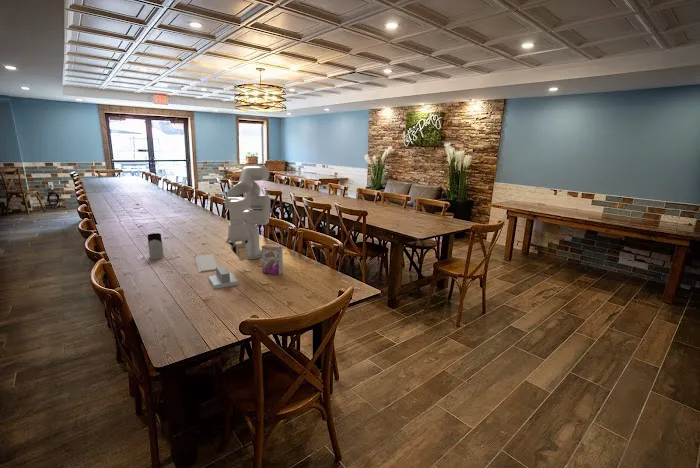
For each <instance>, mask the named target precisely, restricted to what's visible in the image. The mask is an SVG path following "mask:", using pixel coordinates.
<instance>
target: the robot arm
mask: <svg viewBox="0 0 700 468" xmlns="http://www.w3.org/2000/svg"><path fill="white" fill-rule="evenodd" d="M270 173H271V172H270V169H269V168H268V167H265V166H253V165H252V166H244V167H243V168H242V169H241V172H240V175H239V179H238V182H237V183H236V184H234V185H233V186H232V187H231V188H229V190H228V191H226V195H225V198H224V207H225V209H227V210H229V211H228V212H229V222H230V223H229V224H228V228H227V229H228V231H227V234H228V235H227V236H228V237H227V238H226V240H225V243H226V244H228V245H229V246H230V247H231V246H233V251H232V252H233V253H234V254H235V255H236V247H235V243H236V242H238V241H240V242H241V243H242V244H243V245H244V246H245V247H246V248H247V249H248V259H247V260H256V259H260V258H262V249H260V231H259V230H260V229H259V228H258V226H257V225H261V226H262V225H263V226H264V225H265V226H266V225H267V224H269V222H270V217H271V204H272V203H271V202H272V201H271V198H270V196H269V195H268V194H261V187H260V186H259V184H258V183H257V182H256V181H268V180H269V178H270ZM242 194H245V195H246V196H245V197H244V196H243V197H242V196H240V195H242ZM231 242H232V243H231Z"/></svg>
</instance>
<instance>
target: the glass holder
mask: <svg viewBox="0 0 700 468" xmlns="http://www.w3.org/2000/svg"><path fill="white" fill-rule="evenodd" d="M147 246H148V253H149V256H148V258H149V259H150V260H160V259H162V258H164V257H165V255H164V250H163V249H164V248H163V247H164V246H163V240H162V234H161V233H157V232H156V233H154V232H153V233H149V234H147Z"/></svg>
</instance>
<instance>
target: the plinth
mask: <svg viewBox="0 0 700 468" xmlns="http://www.w3.org/2000/svg"><path fill="white" fill-rule="evenodd" d="M215 273H216V274H214V275H209V276H208V281H209V282H210V284H211V285H212V288H213V289H221V288H226V287H232V286H238V285H239V280H238V279H237V278H236V276H235V275H234V274H233V273H232V272H229V270H228V269H227V268H226V267H225V265H217V267H216V270H215Z"/></svg>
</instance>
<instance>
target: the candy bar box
mask: <svg viewBox="0 0 700 468" xmlns="http://www.w3.org/2000/svg"><path fill="white" fill-rule="evenodd" d="M261 250H262V257H261V267H262V274H268V275H274V276H280V275H282V274H283V273H284V269H283V268H284V267H283V265H284V264H283V261H284V260H283V258H284V257H283V256H284V255H283V246H281V245H276V244H275V245H274V244H269V243H266V244H263V245H261Z"/></svg>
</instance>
